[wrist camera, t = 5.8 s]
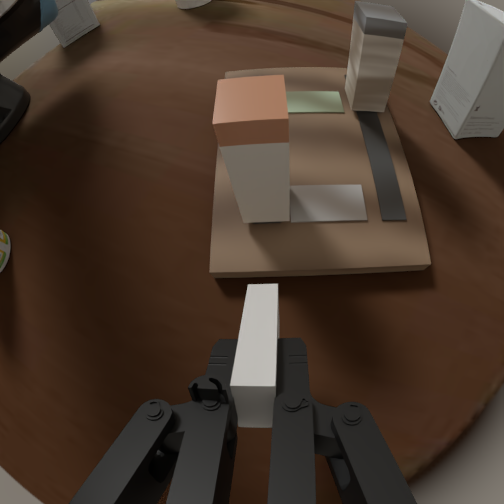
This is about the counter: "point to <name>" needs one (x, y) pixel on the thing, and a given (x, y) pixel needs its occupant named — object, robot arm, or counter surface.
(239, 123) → the tab
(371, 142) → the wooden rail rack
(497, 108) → the skincare box
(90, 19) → the supplement box
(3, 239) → the supplement bottle
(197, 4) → the white cup
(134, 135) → the counter surface
